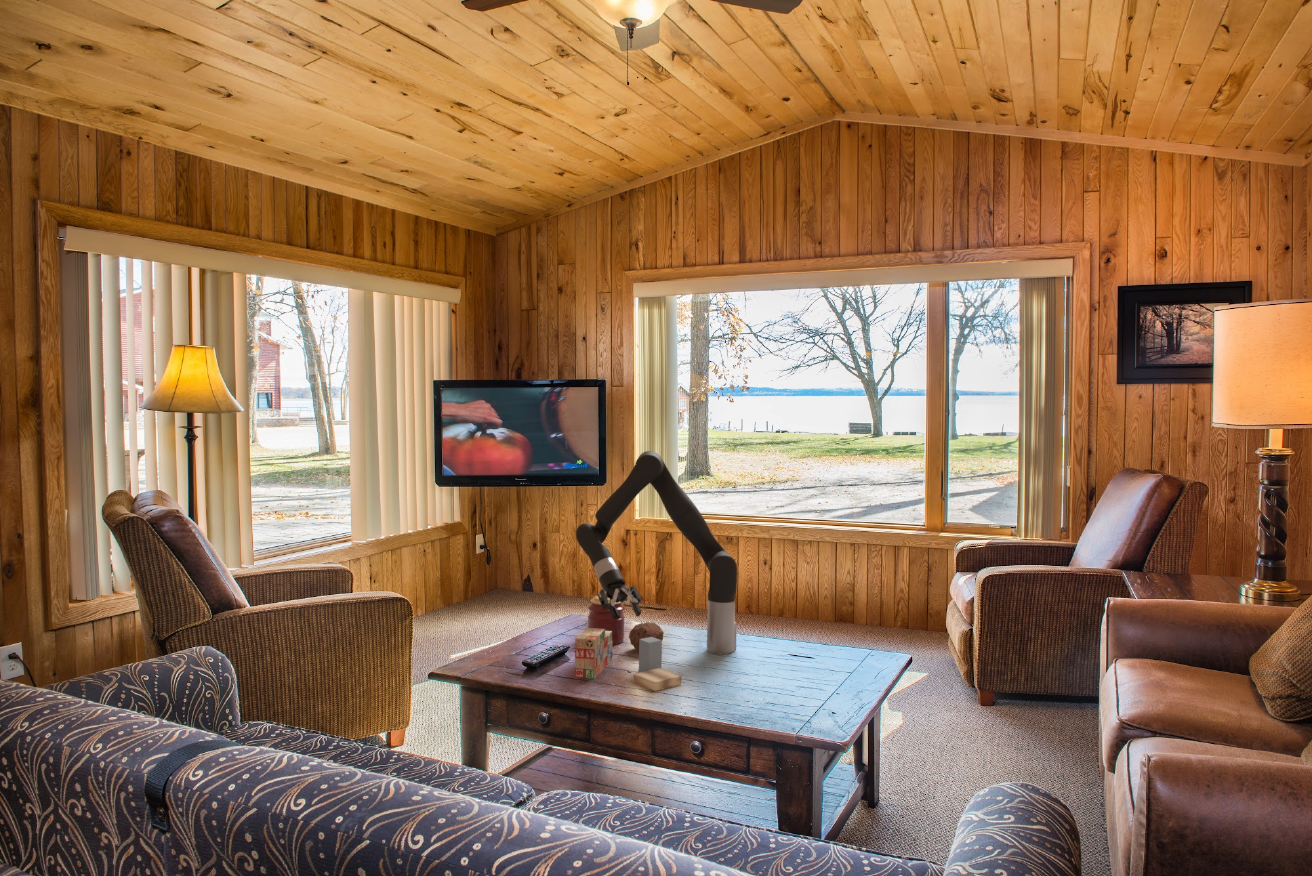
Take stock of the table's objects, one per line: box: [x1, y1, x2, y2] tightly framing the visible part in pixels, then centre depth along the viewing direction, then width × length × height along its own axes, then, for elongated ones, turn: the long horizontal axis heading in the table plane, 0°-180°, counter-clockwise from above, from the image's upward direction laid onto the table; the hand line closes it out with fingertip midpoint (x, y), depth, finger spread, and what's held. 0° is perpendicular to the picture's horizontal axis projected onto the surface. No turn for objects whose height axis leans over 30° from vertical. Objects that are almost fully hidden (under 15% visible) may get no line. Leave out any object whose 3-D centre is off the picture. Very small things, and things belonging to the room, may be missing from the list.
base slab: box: [633, 667, 682, 692], centre depth 247 cm, size 10×10×3 cm
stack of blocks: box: [574, 627, 613, 680], centre depth 260 cm, size 21×6×12 cm, turn 168°
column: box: [638, 637, 663, 673], centre depth 257 cm, size 5×5×10 cm
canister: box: [587, 595, 626, 646], centre depth 292 cm, size 13×13×18 cm
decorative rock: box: [628, 621, 664, 652], centre depth 280 cm, size 13×11×10 cm
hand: (628, 616), depth 266 cm, fingers open, 8 cm apart
